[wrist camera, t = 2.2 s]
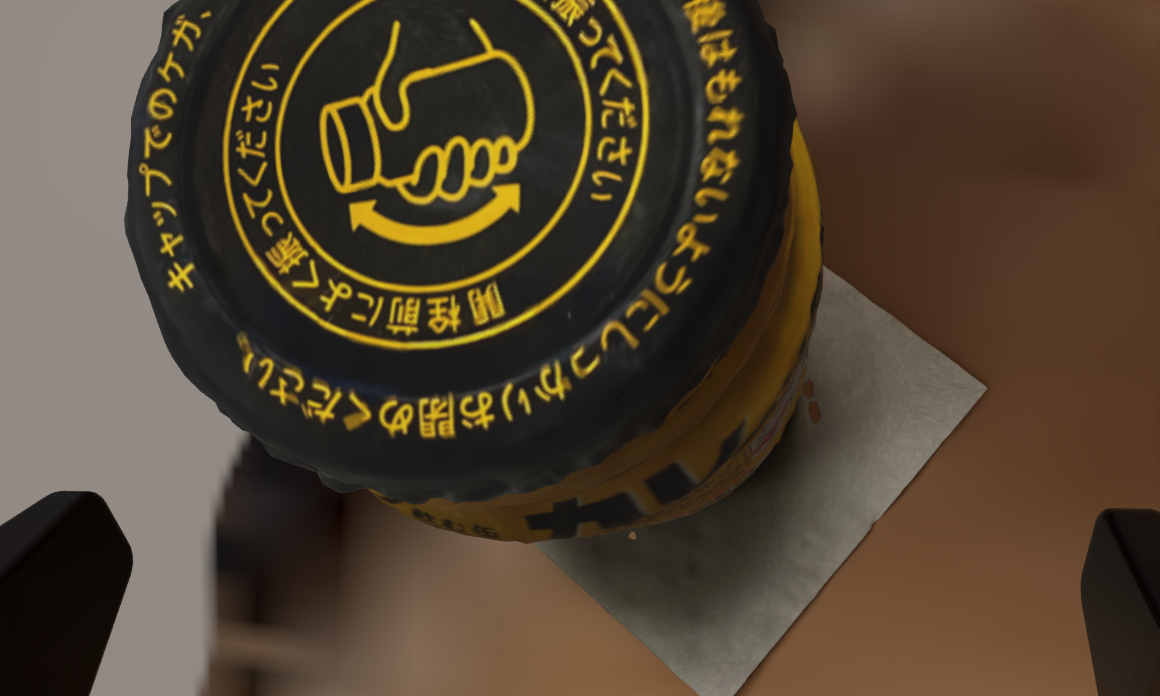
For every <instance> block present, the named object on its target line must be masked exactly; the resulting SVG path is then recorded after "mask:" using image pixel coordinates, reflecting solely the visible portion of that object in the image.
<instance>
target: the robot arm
mask: <svg viewBox="0 0 1160 696" xmlns="http://www.w3.org/2000/svg"><path fill="white" fill-rule="evenodd" d="M132 565H133V554H132V550H131V547H130V545H129V543H128V541H127V539H126V537H125V536H124V534H123V532H122V530H121V528H120V527H119V525H118V523H117V521H116V520H115V518H114V516H113V514H112V512H111V511H110V509H109V507H108V505H107V504H106V502H105V501H104V499H103V498H102V497H101V496H100V495H98V494H97V493H94V492H90V491H59V492H54V493H51V494H49V495H47V496H46V497H44V498H43V499H41V500H39V501H38V502H36V503H35V504H33V505H32V506H30V507H29V508H27V509H26V510H24V511H23V512H21V513H19V514H18V515H16V516H15V517H13V518H12V519H10V520H9V521H7V522H6V523H4V524H2V525H1V526H0V696H89V695H90V692H91V690H92V686H93V684H94V681H95V678H96V675H97V672H98V669H99V666H100V663H101V660H102V657H103V654H104V651H105V649H106V645H107V643H108V640H109V637H110V634H111V631H112V628H113V625H114V622H115V619H116V616H117V613H118V611H119V608H120V605H121V602H122V599H123V596H124V593H125V590H126V587H127V584H128V581H129V578H130V576H131V572H132ZM1081 601H1082V608H1083V613H1084V619H1085V624H1086V630H1087V635H1088V641H1089V646H1090V652H1091V657H1092V663H1093V668H1094V674H1095V679H1096V685H1097V691H1098V696H1160V512H1158V511H1156V510H1152V509H1124V508H1109V509H1105V510H1103V511H1102V512H1101V513H1100V514H1099V515H1098V517H1097V519H1096V522H1095V525H1094V529H1093V533H1092V537H1091V541H1090V545H1089V548H1088V552H1087V556H1086V560H1085V564H1084V568H1083V572H1082V577H1081Z"/></svg>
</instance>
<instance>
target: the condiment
mask: <svg viewBox="0 0 1160 696" xmlns="http://www.w3.org/2000/svg"><path fill="white" fill-rule="evenodd" d="M127 177H128V185H129V186H128V203H127V207H126V213H125V217H124V222H125V233H126V236H127V239H128V242H129V245H130V247H131V250H132V253H133V256H134V259H135V262H136V264H137V268H138V271H139V274H140V277H141V280H142V282H143V285H144V287H145V289H146V292H147V294H148V296H149V299H150V301H151V305H152V308H153V310H154V313H155V316H156V319H157V322H158V325H159V328H160V330H161V333H162V336H163V339H164V341H165V343H166V346H167V348H168V350H169V352H170V354H171V356H172V357H173V359H174V360H175V362H176V363H177V365H178V366H179V368H180V369H181V371H182V372H183V374H184V375H185V376H186V377H187V378H188V379H189V380H190V381H191V382H192V383H193V384H194V385H195V386H196V387H197V388H198V389H199V390H200V391H201V392H202V393H204V394H205V395H206V396H208V397H209V398H210V399H212V400H213V401H214V402H215V403H216V405H217V407H218V409H219V410H220V412H221V413H223V414H224V415H226V416H227V417H229V418H230V419H231V421H232V422H233V423H234V424H235V425H237V426H238V427H239V428H240V429H242V430H243V431H247V432H249V433H250V434H252V435H253V436H254V437H256V438H257V439H258V440H260V441H261V442H262V443H263V445H264V448H265V449H266V450H267V452H268V453H269V454H270V455H271V456H272V457H275V458H277V459H280V460H282V461H285V462H288V463H291V464H294V465H297V466H300V467H303V468H306V469H309V470H312V471H314V472H316V473H317V474H318V475H319V477H320V479H321V481H322V483H323V485H325V486H327V487H329V488H331V489H333V490H335V491H337V492H339V493H345V492H352V491H357V490H361V489H364V488H366V489H368V490H369V491H370V492H371V493H372V494H373V495H375V496H376V497H377V498H378V499H379V500H380V501H381V502H382V503H385V504H387V505H389V506H391V507H394V508H395V509H396V510H398V511H399V512H400V513H402V514H403V515H405V516H408V517H410V518H413V519H416V520H419V521H422V522H424V523H426V524H429V525H431V526H434V527H436V528H439V529H443V530H447V531H453V532H457V533H460V534H463V535H468V536H474V537H480V538H486V539H492V540H499V541H518V542H522V543H526V544H529V543H533V544H534V545H535V546H537V547H538V548H539V549H540V551H541V552H542V553H544V554H545V555H547V556H548V557H549V558H550V559H551V560H552V561H553V562H554V563H555V564H556V565H557V566H558V567H559V568H560V569H561V570H562V571H563V572H564V573H565V574H566V575H567V576H568V577H570V578H571V579H572V580H573V581H574V582H575V583H577V584H578V585H579V586H580V587H582V588H583V589H584V590H585V591H586V592H587V593H588V594H589V595H590V596H591V597H593V598H594V599H595V600H596V601H597V602H598V603H599V604H600V605H601V606H602V607H603V608H604V609H605V610H606V611H607V612H608V613H609V614H611V615H612V616H613V617H615V618H616V619H617V620H618V621H619V622H620V623H622V624H623V625H624V626H625V627H626V628H627V629H628V630H629V631H630V632H631V633H632V634H633V635H634V636H635V637H636V638H638V639H639V640H640V641H641V642H642V643H643V644H645V645H646V646H647V647H648V648H649V649H650V650H651V651H652V652H653V653H654V654H655V655H656V656H657V657H658V658H659V659H660V660H661V661H663V662H664V663H665V664H666V665H667V666H668V667H669V668H670V669H671V670H672V671H673V672H674V673H675V674H676V675H677V676H678V677H679V678H680V679H682V680H683V681H684V682H685V683H686V684H687V685H689V686H690V687H691V688H692V689H693V690H694V691H695V692H696V693H698V694H699V695H700V696H733V695H734V694H735V693H736V692H737V691H738V689H739V688H740V687H741V686H742V685H743V683H744V682H745V681H746V679H747V677H748V676H749V675H750V674H751V673H752V672H753V671H754V669H755V668H756V667H757V666H758V664H759V663H760V662H761V661H762V659H763V658H764V657H765V656H766V655H767V654H768V652H769V651H770V650H771V649H772V647H773V646H774V645H775V644H776V643H777V641H778V640H779V639H780V638H781V636H782V635H783V634H784V633H785V632H786V630H787V629H788V628H789V627H790V626H791V624H792V623H793V622H794V621H795V620H796V618H797V617H798V616H799V615H800V613H801V612H802V611H803V609H804V608H805V607H806V606H807V605H808V604H809V603H810V602H811V600H812V599H813V598H814V597H815V596H816V594H817V593H818V592H819V590H820V589H821V588H822V587H823V585H824V584H825V583H826V582H827V580H828V579H829V578H830V576H831V575H832V574H833V573H834V572H835V571H836V570H837V569H838V567H839V566H840V565H841V564H842V563H843V561H844V560H845V559H846V558H847V557H848V555H849V554H850V553H851V552H852V551H853V549H854V548H855V547H856V546H857V545H858V543H859V542H860V541H861V540H862V539H863V537H864V536H865V535H866V534H867V533H868V531H869V530H870V529H871V527H872V524H873V523H874V522H875V521H876V520H878V519H879V518H880V517H881V516H882V514H883V513H884V512H885V511H886V510H887V508H888V507H889V506H890V505H891V504H892V503H893V501H894V500H895V499H896V498H897V497H898V495H899V494H900V493H901V491H902V490H903V488H905V487H906V486H907V485H908V483H909V482H910V481H911V480H912V479H913V477H914V476H915V475H916V474H917V473H918V471H919V470H920V469H921V468H922V466H923V465H924V464H925V463H926V461H927V460H928V459H929V458H930V457H931V455H932V454H933V453H934V452H935V451H936V449H937V448H938V447H939V446H940V444H941V443H942V442H943V441H944V440H945V439H946V438H947V437H948V435H949V434H950V433H951V432H952V431H953V429H954V428H955V427H956V426H957V425H958V423H959V422H960V421H961V420H962V419H963V417H964V416H965V415H966V414H967V413H968V411H969V410H970V409H971V408H972V407H973V405H974V404H975V403H976V401H977V400H978V399H979V398H980V397H981V396H982V394H983V393H984V392H985V391H986V390H987V387H986V386H984V385H983V384H982V383H981V382H979V381H978V380H977V379H975V378H974V377H972V376H971V375H970V374H968V373H967V372H966V371H964V370H963V369H962V368H961V367H959V366H958V365H957V364H956V363H955V362H953V361H952V360H951V359H949V358H948V357H946V356H945V355H944V354H942V353H941V352H940V351H938V350H937V349H935V348H934V347H933V346H931V345H930V344H928V343H927V342H925V341H924V340H923V339H921V338H920V337H919V336H917V335H916V334H915V333H913V332H912V331H911V330H910V329H908V328H907V327H906V326H905V325H904V324H902V323H901V322H900V321H899V320H897V319H896V318H895V317H893V316H892V315H891V314H889V313H888V312H886V311H885V310H883V309H882V308H880V307H878V306H877V305H875V304H874V303H873V302H871V301H870V300H869V299H868V298H866V297H865V296H864V295H863V294H861V293H860V292H859V291H858V290H856V289H855V288H854V287H853V286H851V285H850V284H849V283H848V282H846V281H845V280H844V279H842V278H841V277H839V276H838V275H836V274H835V273H833V272H832V271H831V270H829V269H828V268H827V267H825V266H824V265H823V262H824V252H823V241H824V239H823V232H824V228H823V214H822V207H821V200H820V195H819V191H818V188H819V181H820V180H819V173H818V166H817V159H816V157H815V156H814V154H813V153H812V151H811V150H810V148H809V146H808V144H807V142H806V140H805V138H804V136H803V134H802V131H801V128H800V126H799V123H798V120H797V112H796V109H795V105H794V102H793V99H792V93H791V86H790V82H789V78H788V75H787V72H786V70H785V69H784V67H783V58H782V55H781V53H780V51H779V48H778V41H777V36H776V31H775V28H773V27H772V26H771V25H769V24H768V23H767V22H765V20H764V17H763V14H762V11H761V8H760V5H759V3H758V1H757V0H179V1H177V2H176V3H175V4H173V5H172V6H171V7H170V8H169V9H167V10H166V11H165V12H164V16H163V22H162V34H161V39H160V44H159V47H158V51H157V53H156V55H155V56H154V58H153V60H152V61H151V63H150V65H149V67H148V69H147V71H146V73H145V75H144V77H143V79H142V81H141V84H140V88H139V91H138V94H137V98H136V102H135V106H134V109H133V113H132V117H131V142H130V149H129V159H128V171H127ZM808 378H809V379H810V381H811V382H812V383H813V384H814V385H813V391H814V395H813V396H812V397H811V398H810V399H809V398H808V397H806V396H804V394H803V385H804V383H805V382H807V381H808ZM811 401H812V402H816V403H817V404H818V407H819V410H820V414H821V417H822V418H821V419H820V420H819V421H818V423H817V424H816V423H812V420H811V417H810V415H809V405H810V402H811ZM631 531H633V532H635V533H636V539H635V540H633V539H630V538H629V537H628V536H629V534H630V532H631Z"/></svg>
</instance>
